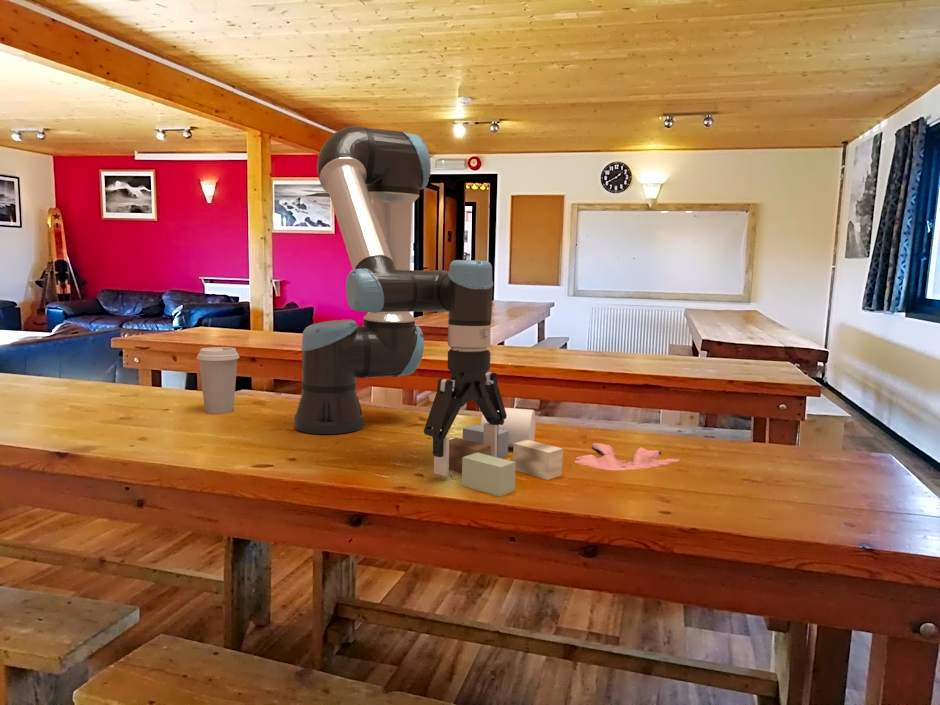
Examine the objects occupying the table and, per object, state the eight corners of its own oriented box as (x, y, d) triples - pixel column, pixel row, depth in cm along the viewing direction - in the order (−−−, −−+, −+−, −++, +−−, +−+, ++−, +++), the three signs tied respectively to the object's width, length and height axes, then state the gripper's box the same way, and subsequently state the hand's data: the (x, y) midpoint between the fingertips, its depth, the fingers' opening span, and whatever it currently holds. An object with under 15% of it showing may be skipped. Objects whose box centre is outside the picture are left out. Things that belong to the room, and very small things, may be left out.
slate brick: (462, 453, 133) (462, 428, 133) (473, 448, 137) (473, 424, 136) (497, 460, 129) (498, 434, 129) (507, 455, 133) (508, 430, 132)
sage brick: (461, 486, 114) (462, 457, 113) (476, 480, 117) (477, 452, 116) (499, 497, 109) (501, 467, 108) (514, 491, 112) (515, 462, 111)
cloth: (562, 468, 127) (563, 456, 127) (584, 441, 148) (585, 430, 147) (676, 483, 120) (677, 470, 120) (682, 452, 141) (683, 441, 140)
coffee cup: (232, 416, 158) (230, 352, 156) (191, 414, 158) (189, 351, 156) (245, 407, 167) (245, 347, 166) (207, 406, 168) (206, 346, 166)
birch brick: (512, 470, 123) (513, 443, 123) (526, 465, 126) (527, 439, 126) (547, 480, 118) (549, 452, 117) (561, 476, 121) (562, 448, 120)
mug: (528, 454, 134) (530, 414, 133) (479, 449, 136) (480, 410, 135) (537, 439, 145) (539, 402, 144) (492, 435, 148) (493, 399, 147)
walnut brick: (441, 468, 123) (442, 441, 122) (455, 463, 126) (456, 437, 126) (476, 478, 118) (477, 450, 118) (490, 472, 121) (490, 445, 121)
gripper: (437, 356, 107) (435, 486, 110) (527, 345, 127) (523, 456, 129) (403, 352, 112) (402, 476, 115) (495, 342, 131) (492, 449, 134)
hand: (466, 466), depth 122 cm, fingers open, 13 cm apart
